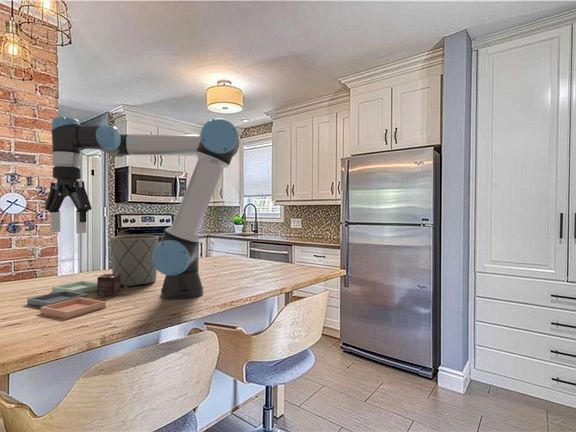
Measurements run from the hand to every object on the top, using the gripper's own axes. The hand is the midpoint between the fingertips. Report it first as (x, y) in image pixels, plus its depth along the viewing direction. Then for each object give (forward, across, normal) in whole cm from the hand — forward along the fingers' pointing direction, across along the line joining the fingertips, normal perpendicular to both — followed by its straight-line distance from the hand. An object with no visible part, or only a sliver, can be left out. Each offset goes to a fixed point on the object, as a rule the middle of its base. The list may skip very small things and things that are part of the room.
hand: (68, 232), depth 108 cm
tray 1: (+24, +9, -2) cm, 26 cm away
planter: (+25, +11, -35) cm, 44 cm away
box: (+25, +2, -16) cm, 29 cm away
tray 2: (+24, +19, -15) cm, 34 cm away
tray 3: (+24, -5, +2) cm, 25 cm away
